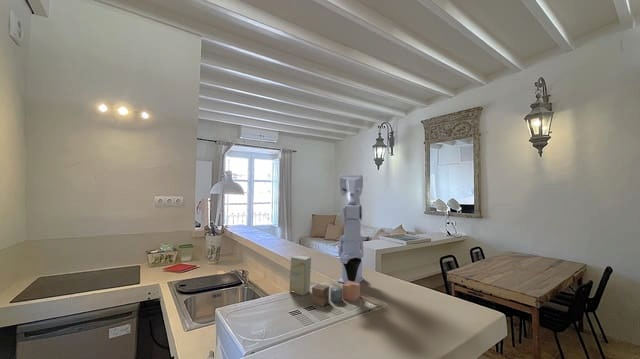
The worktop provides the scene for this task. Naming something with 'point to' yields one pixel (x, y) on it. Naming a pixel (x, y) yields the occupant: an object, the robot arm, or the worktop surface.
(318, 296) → the walnut block
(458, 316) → the worktop surface
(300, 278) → the skincare box
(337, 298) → the blue-grey short cylinder
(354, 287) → the terracotta cube
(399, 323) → the worktop surface
